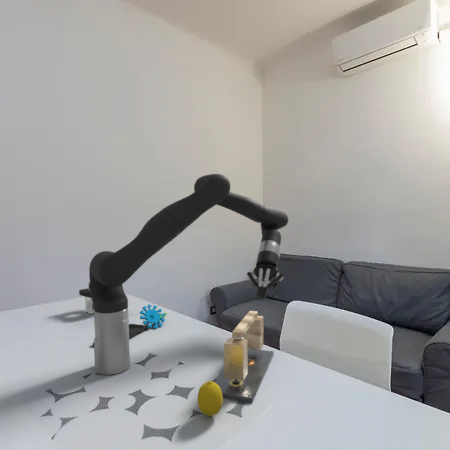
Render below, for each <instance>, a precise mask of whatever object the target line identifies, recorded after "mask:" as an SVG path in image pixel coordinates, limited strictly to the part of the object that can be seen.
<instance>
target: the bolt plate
mask: <svg viewBox="0 0 450 450" xmlns="http://www.w3.org/2000/svg"><path fill="white" fill-rule="evenodd" d="M273 357H274V351H273V350H265V349H261V350H258V349H255V350H253V349H250V348H247V340H245V339H244V338H241V339H239V338H232V337H227V339H226V340H225V341H224V342H223V369H222V370H221V372H220V373H219V374H218V376H217V377H216V379H215V380H214V382H215V383H216V384H218V385H219V387H220V389H221V391H222V396H223V399H227V400H232V401H238V402H244V403H251V404H253V403H254V399H255V397H256V395H257V393H258V390H259V388H260V386H261V384H262V382H263V380H264V378H265V376H266V373H267V371H268V368H269V366H270V364H271V363H272V359H273Z"/></svg>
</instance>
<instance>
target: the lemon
mask: <svg viewBox="0 0 450 450" xmlns="http://www.w3.org/2000/svg"><path fill="white" fill-rule="evenodd" d="M223 402H224V398H223V396H222V391H221V389H220V387H219V385H218V384H216V383H215V381H212V380H208V381H206V382H204V383H203V384H202V385H201V386H200V388H199V389H198V393H197V406H198V408H199V411H200V412H201V413H202V414H203V415H205V416H208V417H210V418H212V417H213V416H215V415H217V414H218V413H219V412H220V411H221V409H222V407H223Z"/></svg>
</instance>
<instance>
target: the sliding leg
mask: <svg viewBox="0 0 450 450" xmlns="http://www.w3.org/2000/svg"><path fill="white" fill-rule="evenodd" d="M231 338H236V339H245V340H247V348H249V349H253V350H255V349H257V350H262V348H263V347H264V316H263V315H259V314H258V311H257V310H249V311H248V312H247V313H246V315H245V316H244V317H243V318H242V319H241V320H240V322H239V323H238V325H236V326H235V328H234V329H233V330H232V331H231Z"/></svg>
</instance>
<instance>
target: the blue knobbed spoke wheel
mask: <svg viewBox="0 0 450 450" xmlns="http://www.w3.org/2000/svg"><path fill="white" fill-rule="evenodd" d="M157 308H158V306H157V305H155V304H154V305H152V304H148V305H147V306H146V305H144V306H142V309H141V310H140V312H139V314H140V316H139V319H140V320H143V321H142V325H144V326H146V325H147V328H149V329H151V328H152V325H153V324H154V325H153V329H155V330H157V329H158V327H159V328H160V327H161V328H162V326H164V325H163V323H165V321H166V319H165V318H164V317H166V316H167V314H168V313H167V312H163V311H162V309H161V308H159V309H157ZM162 312H163V313H162Z"/></svg>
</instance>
